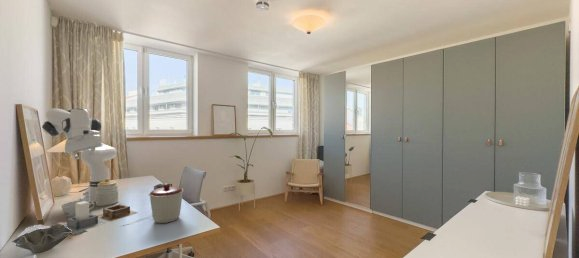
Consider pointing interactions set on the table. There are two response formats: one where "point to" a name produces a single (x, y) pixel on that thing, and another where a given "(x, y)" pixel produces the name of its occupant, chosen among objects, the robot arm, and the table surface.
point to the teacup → (72, 208)
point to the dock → (83, 224)
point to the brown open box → (116, 212)
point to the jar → (106, 193)
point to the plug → (82, 210)
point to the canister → (166, 203)
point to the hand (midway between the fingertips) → (84, 157)
